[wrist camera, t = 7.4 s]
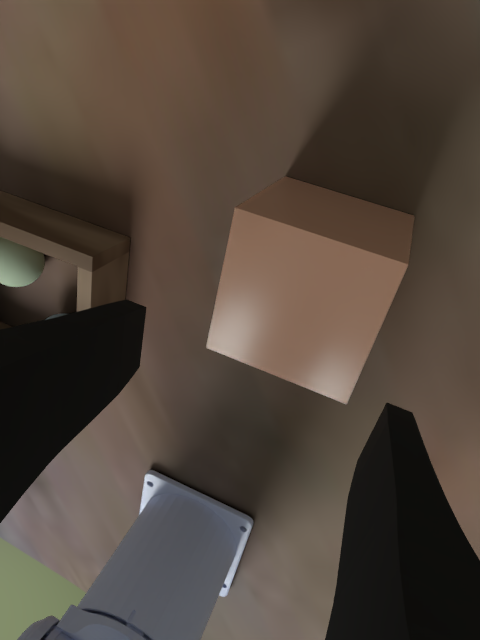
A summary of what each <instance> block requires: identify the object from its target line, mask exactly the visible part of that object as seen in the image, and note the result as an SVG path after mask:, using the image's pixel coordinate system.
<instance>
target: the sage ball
mask: <svg viewBox="0 0 480 640" xmlns="http://www.w3.org/2000/svg"><path fill="white" fill-rule="evenodd" d="M44 265H45V258H44V254H43V253H41V252H38V251H36V250H33V249H31V248H28V247H25V246H23V245H20V244H18V243H15V242H13V241H10V240H7V239H5V238H2V237H0V283H1V284H3V285H6V286H10V287H22V286H26V285H29V284H31V283H33V282H34V281H35V280H37V279H38V278H39V276H40V275H41V273H42V271H43V269H44Z"/></svg>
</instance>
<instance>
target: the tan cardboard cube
mask: <svg viewBox="0 0 480 640" xmlns="http://www.w3.org/2000/svg"><path fill="white" fill-rule="evenodd" d="M414 217H415V216H414V215H410V214H407V213H404V212H401V211H397V210H394V209H391V208H388V207H384V206H381V205H378V204H374V203H371V202H368V201H365V200H361V199H358V198H355V197H352V196H348V195H345V194H342V193H339V192H335V191H332V190H329V189H325V188H322V187H319V186H316V185H312V184H309V183H306V182H303V181H299V180H296V179H293V178H290V177H286V176H285V177H283V178H282V179H280V180H278V181H277V182H275V183H274V184H272V185H270V186H269V187H267V188H266V189H264V190H262V191H261V192H259V193H257V194H256V195H254V196H253V197H251V198H249V199H248V200H246V201H245V202H243V203H241V204H240V205H238V206H237V207H235V210H234V215H233V220H232V225H231V230H230V234H229V239H228V244H227V249H226V254H225V259H224V263H223V268H222V273H221V278H220V283H219V288H218V292H217V297H216V302H215V307H214V312H213V317H212V321H211V326H210V331H209V336H208V341H207V346H206V348H208V349H211V350H213V351H216V352H218V353H221V354H223V355H225V356H228V357H230V358H233V359H235V360H238V361H240V362H243V363H245V364H248V365H250V366H253V367H255V368H258V369H260V370H263V371H265V372H268V373H270V374H272V375H275V376H277V377H280V378H282V379H285V380H287V381H290V382H292V383H295V384H297V385H300V386H302V387H305V388H307V389H310V390H312V391H315V392H317V393H319V394H322V395H324V396H327V397H329V398H332V399H334V400H337V401H339V402H342V403H344V404H347V402H348V400H349V398H350V396H351V393H352V391H353V389H354V387H355V384H356V382H357V380H358V378H359V375H360V373H361V371H362V369H363V366H364V364H365V362H366V360H367V357H368V355H369V353H370V351H371V348H372V346H373V344H374V342H375V339H376V337H377V335H378V332H379V330H380V328H381V326H382V323H383V321H384V319H385V317H386V314H387V312H388V310H389V308H390V305H391V303H392V301H393V299H394V296H395V294H396V292H397V290H398V287H399V285H400V283H401V281H402V278H403V276H404V274H405V272H406V269H407V267H408V265H409V257H410V249H411V241H412V233H413V225H414Z"/></svg>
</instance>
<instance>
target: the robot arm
mask: <svg viewBox="0 0 480 640" xmlns="http://www.w3.org/2000/svg"><path fill="white" fill-rule="evenodd" d="M145 314H146V307H144V306H142V305H139V304H137V303H134V302H132V301H129V300H122V301H117V302H112V303H108V304H104V305H101V306H97V307H93V308H89V309H86V310H82V311H78V312H74V313H70V314H67V315H63V316H59V317H55V318H51V319H47V320H42V321H38V322H33V323H29V324H24V325H20V326H15V327H10V328H5V329H0V523H1V522H2V520H3V519H4V518H5V517H6V515H7V514H8V513H9V511H10V510H11V509H12V508H13V506H14V505H15V504H16V503H17V501H18V500H19V499H20V498H21V496H22V495H23V494H24V493H25V491H26V490H27V489H28V488H29V487H30V485H31V484H32V483H33V482H34V481H35V479H36V478H37V477H38V476H39V475H40V473H41V472H42V471H43V470H44V469H45V467H46V466H47V465H48V464H49V463H50V462H51V461H52V460H53V459H54V457H55V456H56V455H57V454H58V453H59V452H60V451H61V450H62V449H63V448H64V447H65V446H66V445H67V444H68V443H69V442H70V441H71V440H72V439H73V438H74V437H75V436H77V435H78V434H79V433H80V432H81V431H82V430H83V429H84V428H85V427H86V426H87V425H88V424H89V423H90V422H91V421H92V420H93V419H94V418H95V417H96V416H97V415H98V414H99V413H100V412H101V411H102V410H103V409H104V408H105V407H106V406H107V405H108V404H109V403H110V402H111V401H112V400H113V399H114V398H115V397H116V396H117V395H118V394H119V393H120V392H121V390H122V389H123V388H124V387H125V385H126V384H127V383H128V382H129V380H130V379H131V378H132V376H133V375H134V374H135V372H136V371H137V370H138V368H139V366H140V358H141V349H142V340H143V331H144V323H145ZM252 526H253V519H252V518H251V517H250V516H248V515H246V514H244V513H242V512H240V511H237V510H235V509H233V508H231V507H229V506H227V505H225V504H223V503H221V502H219V501H217V500H214V499H212V498H210V497H208V496H206V495H204V494H202V493H200V492H198V491H196V490H194V489H191V488H189V487H187V486H185V485H183V484H181V483H179V482H177V481H175V480H173V479H171V478H168V477H166V476H164V475H162V474H160V473H158V472H156V471H153V470H149V471H148V472H147V473H146V475H145V479H144V486H143V493H142V499H141V506H140V513H139V516H138V518H137V519H136V521H135V522H134V524H133V525H132V527H131V528H130V530H129V531H128V532H127V534H126V535H125V537H124V538H123V540H122V541H121V543H120V544H119V546H118V547H117V549H116V550H115V552H114V553H113V555H112V556H111V558H110V559H109V560H108V562H107V563H106V565H105V566H104V568H103V569H102V571H101V572H100V574H99V575H98V577H97V578H96V580H95V581H94V583H93V584H92V586H91V587H90V588H89V590H88V591H87V593H86V594H85V596H84V597H83V599H82V600H81V602H80V604H79V605H78V606H77V607H76V606H74V605H71V606H70V607H69V608H68V610H67V611H66V613H65V614H64V616H63V617H62V619H61V620H60V621H59V620H58V619H57V618H55V617H54V616H48V617H46V618H45V619H43V620H40V621H37V622H35V623H33V624H32V625H31V626H29V627H28V628H27V629H26V630H25V631H24V632H23V633H22V635H21V636H20V637H19V638H18V639H17V640H200V639H201V637H202V634H203V632H204V630H205V627H206V625H207V622H208V620H209V618H210V615H211V613H212V610H213V608H214V606H215V603H216V601H217V598H218V596H219V595H220V596H223V597H224V596H227V594H228V592H229V589H230V586H231V584H232V581H233V578H234V575H235V573H236V570H237V567H238V564H239V562H240V559H241V556H242V554H243V551H244V548H245V545H246V543H247V540H248V537H249V534H250V532H251V529H252ZM325 640H480V560H479V559H478V557H477V555H476V554H475V552H474V550H473V549H472V547H471V545H470V544H469V542H468V540H467V538H466V536H465V535H464V533H463V531H462V529H461V527H460V525H459V523H458V521H457V519H456V517H455V515H454V513H453V511H452V509H451V507H450V505H449V503H448V501H447V499H446V496H445V494H444V492H443V490H442V487H441V485H440V483H439V480H438V478H437V476H436V473H435V471H434V469H433V466H432V464H431V461H430V459H429V456H428V453H427V451H426V448H425V446H424V443H423V440H422V437H421V435H420V432H419V429H418V426H417V423H416V420H415V418H414V415H413V413H412V412H409V411H407V410H404V409H402V408H399V407H397V406H394V405H392V404H389V403H386V405H385V407H384V409H383V411H382V413H381V415H380V417H379V419H378V421H377V423H376V425H375V427H374V429H373V431H372V433H371V435H370V437H369V439H368V441H367V443H366V445H365V447H364V449H363V451H362V453H361V455H360V457H359V459H358V461H357V464H356V468H355V472H354V476H353V479H352V483H351V487H350V491H349V495H348V501H347V508H346V516H345V523H344V531H343V539H342V546H341V554H340V562H339V570H338V578H337V585H336V591H335V597H334V603H333V608H332V612H331V617H330V621H329V625H328V630H327V634H326V638H325Z"/></svg>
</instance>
